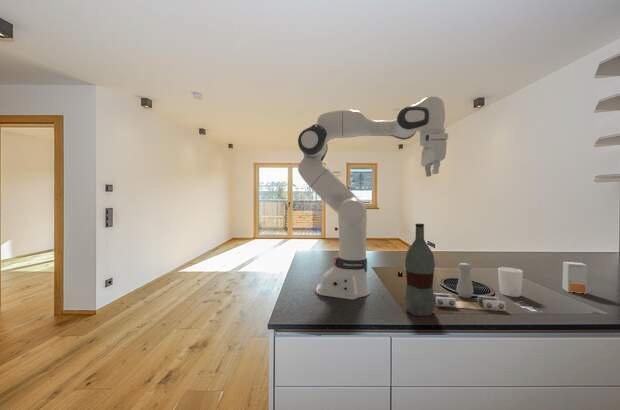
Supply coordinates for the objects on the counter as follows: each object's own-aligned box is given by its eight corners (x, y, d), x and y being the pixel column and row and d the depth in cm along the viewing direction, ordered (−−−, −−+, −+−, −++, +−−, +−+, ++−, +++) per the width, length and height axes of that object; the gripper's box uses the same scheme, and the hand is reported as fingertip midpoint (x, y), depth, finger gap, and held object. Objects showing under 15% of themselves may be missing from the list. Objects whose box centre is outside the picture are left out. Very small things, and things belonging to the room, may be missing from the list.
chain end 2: (484, 309, 88) (484, 301, 88) (477, 303, 94) (477, 295, 94) (505, 311, 87) (505, 302, 87) (497, 304, 92) (497, 296, 92)
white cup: (516, 299, 98) (516, 273, 98) (493, 292, 105) (494, 268, 105) (526, 295, 102) (526, 270, 102) (504, 289, 109) (504, 266, 109)
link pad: (457, 308, 90) (457, 307, 90) (451, 301, 96) (451, 300, 96) (484, 310, 88) (484, 309, 88) (476, 303, 94) (476, 302, 94)
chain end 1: (436, 306, 91) (436, 298, 91) (432, 300, 97) (432, 292, 96) (456, 307, 90) (456, 299, 90) (450, 301, 95) (450, 293, 95)
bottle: (434, 308, 90) (434, 223, 89) (435, 319, 81) (435, 225, 81) (405, 303, 93) (406, 222, 93) (403, 313, 85) (404, 224, 85)
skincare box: (567, 292, 105) (568, 263, 105) (562, 289, 109) (562, 261, 109) (587, 294, 103) (587, 264, 103) (580, 291, 107) (581, 262, 107)
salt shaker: (475, 299, 98) (476, 265, 97) (459, 298, 99) (459, 265, 99) (469, 294, 103) (469, 262, 103) (454, 293, 105) (454, 261, 104)
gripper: (417, 146, 111) (417, 177, 111) (430, 133, 91) (430, 172, 91) (433, 145, 110) (432, 177, 110) (450, 132, 89) (449, 172, 90)
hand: (431, 175), depth 100 cm, fingers open, 8 cm apart
